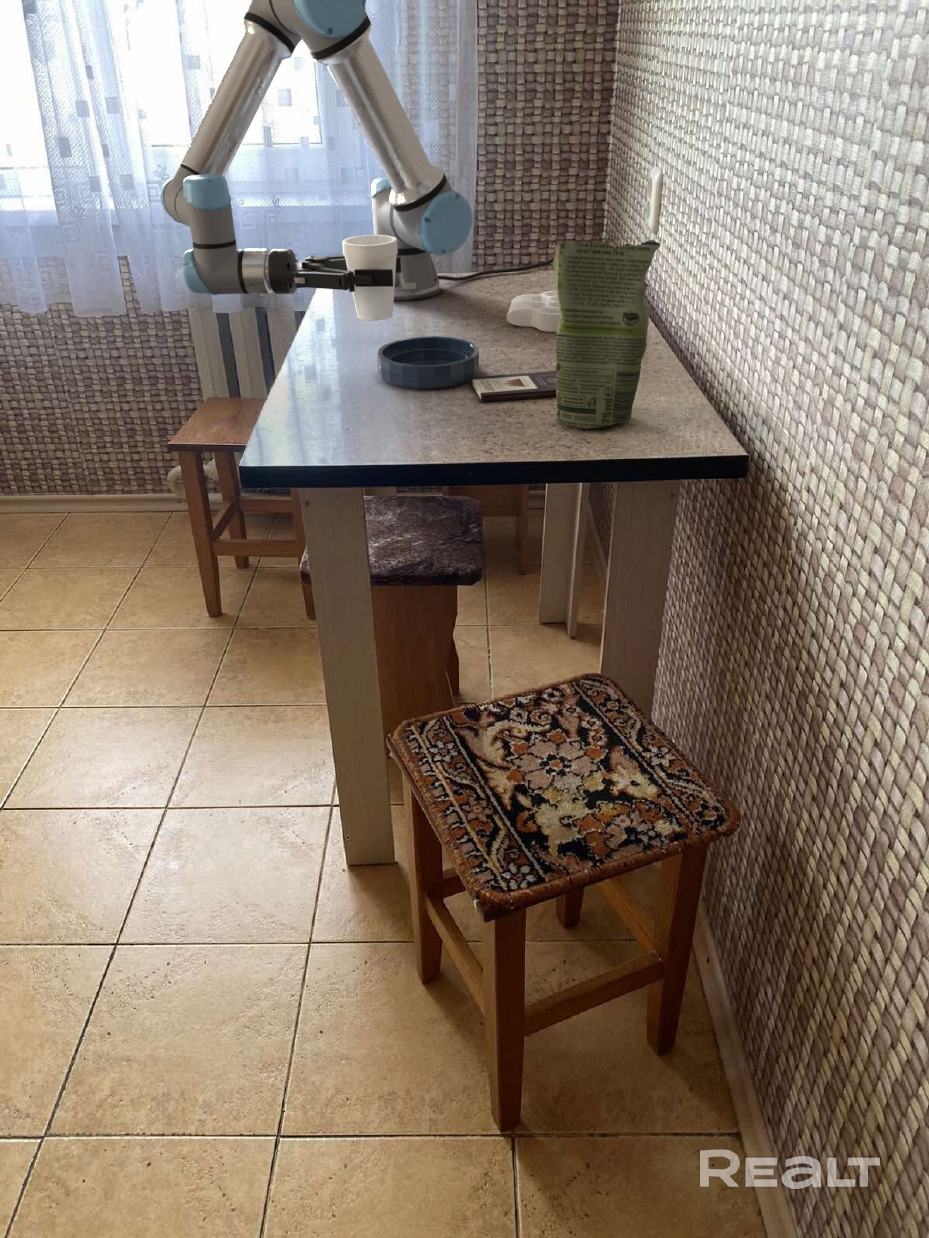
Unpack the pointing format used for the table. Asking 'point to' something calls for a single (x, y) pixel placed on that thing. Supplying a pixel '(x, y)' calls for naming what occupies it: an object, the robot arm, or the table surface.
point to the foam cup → (372, 256)
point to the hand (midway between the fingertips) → (396, 271)
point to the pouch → (600, 330)
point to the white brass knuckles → (535, 311)
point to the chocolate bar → (515, 386)
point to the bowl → (428, 362)
